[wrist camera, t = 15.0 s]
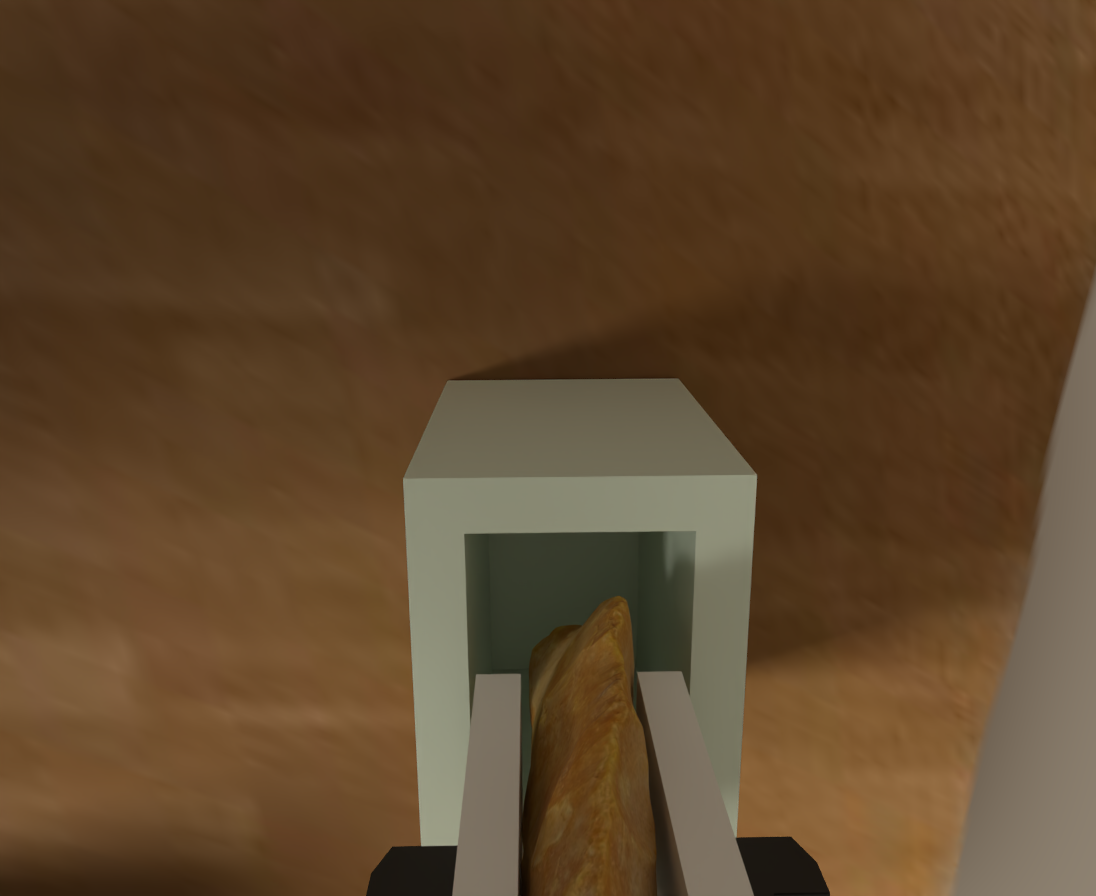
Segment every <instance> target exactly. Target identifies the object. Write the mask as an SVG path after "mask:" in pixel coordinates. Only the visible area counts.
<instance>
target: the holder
mask: <svg viewBox="0 0 1096 896" xmlns="http://www.w3.org/2000/svg"><path fill="white" fill-rule="evenodd" d="M403 487H404V508H405V528H406V548H407V568H408V589H409V609H410V629H411V650H412V670H413V690H414V710H415V731H416V751H417V771H418V792H419V812H420V832H421V846H457V845H458V838H459V828H460V819H461V810H462V801H463V791H464V782H465V773H466V764H467V754H468V745H469V736H470V727H471V717H472V708H473V699H474V690H475V681H476V674H521V718H522V786H523V808H524V800H525V794H526V788H527V782H528V776H529V772H530V767H531V736H532V727H531V720H530V708H529V662H530V658H531V653H532V649H533V648H534V647H535V646H536V645H537V644H538V643H539V642H540V641H541V640H542V639H543V638H545V637H547V636H549V635H550V633H551V632H552V631H553V630H554V629H555V628H556V627H559V626H565V625H583V624H584V623H585V622H586V620H587V619H588V618H589V617H590V615H591V614H592V613H593V611H594V610H595V609H596V608H597V607H598V606H599V604H600V603H602V602H603V601H605V600H607V599H610V598H612V597H616V596H621V597H623V598H625V599H626V601H627V604H628V608H629V613H630V619H631V625H632V638H633V652H634V694H633V707H634V709H635V712H636V698H637V672H664V671H682V674H683V677H684V681H685V684H686V687H687V690H688V693H689V696H690V699H691V702H692V705H693V708H694V712H695V715H696V718H697V721H698V724H699V727H700V730H701V733H702V736H703V739H704V742H705V746H706V749H707V752H708V755H709V758H710V761H711V764H712V767H713V770H714V773H715V777H716V780H717V783H718V786H719V789H720V792H721V795H722V798H723V801H724V804H725V808H726V811H727V814H728V817H729V820H730V823H731V826H732V829H733V832H734V835H735V838H736V836H737V819H738V801H739V784H740V766H741V749H742V731H743V714H744V696H745V679H746V661H747V644H748V627H749V609H750V592H751V574H752V557H753V539H754V522H755V504H756V487H757V474H756V473H755V472H754V470H753V469H752V468H751V467H750V465H749V464H748V463H747V462H746V461H745V459H744V458H743V457H742V456H741V454H740V453H739V452H738V451H737V450H736V448H735V447H734V446H733V445H732V443H731V442H730V441H729V440H728V439H727V437H726V436H725V435H724V434H723V432H722V431H721V430H720V429H719V428H718V426H717V425H716V424H715V423H714V421H713V420H712V419H711V418H710V417H709V415H708V414H707V413H706V412H705V410H704V409H703V408H702V407H701V406H700V404H699V403H698V402H697V401H696V399H695V398H694V397H693V396H692V395H691V393H690V392H689V391H688V390H687V388H686V387H685V386H684V385H683V384H682V382H681V381H680V380H679V379H678V378H669V379H557V380H447V383H446V385H445V387H444V389H443V391H442V394H441V396H440V398H439V400H438V402H437V405H436V407H435V409H434V411H433V414H432V416H431V418H430V420H429V422H428V425H427V427H426V429H425V431H424V433H423V436H422V438H421V440H420V442H419V445H418V447H417V449H416V451H415V453H414V456H413V458H412V460H411V462H410V464H409V467H408V469H407V471H406V473H405V476H404V478H403ZM523 851H524V850H523Z"/></svg>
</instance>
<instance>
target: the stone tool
mask: <svg viewBox="0 0 1096 896" xmlns="http://www.w3.org/2000/svg"><path fill="white" fill-rule="evenodd" d="M633 694H634V652H633V638H632V625H631V619H630V613H629V608H628V604H627V601H626V599H625V598H623V597H621V596H616V597H612V598H610V599H607V600H605V601H603V602H602V603H600V604H599V606H598V607H597V608H596V609H595V610H594V611H593V613H592V614H591V615H590V617H589V618H588V619H587V620H586V622H585V623H584V624H583V625H565V626H559V627H556V628H555V629H554V630H553V631H552V632H551V633H550V635H549V636H547V637H545V638H543V639H542V640H541V641H540V642H539V643H538V644H537V645H536V646H535V647H534V648H533V649H532V653H531V658H530V662H529V708H530V720H531V727H532V736H531V767H530V772H529V776H528V782H527V788H526V794H525V800H524V808H523V818H522V833H521V835H522V843H523V850H524V851H523V858H522V862H521V885H522V896H657V882H656V860H657V852H656V836H655V823H654V818H653V813H652V807H651V801H650V793H649V770H648V757H647V751H646V743H645V736H644V731H643V726H642V724H641V722H640V720H639V718H638V716H637V714H636V712H635V709H634V707H633Z"/></svg>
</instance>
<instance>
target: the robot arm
mask: <svg viewBox="0 0 1096 896" xmlns="http://www.w3.org/2000/svg"><path fill="white" fill-rule="evenodd" d="M636 714H637V716H638V718H639V720H640V722H641V724H642V726H643V731H644V736H645V743H646V751H647V757H648V770H649V793H650V801H651V807H652V813H653V818H654V823H655V836H656V852H657V860H656V882H657V896H830V892H829V889H828V887H827V885H826V882H825V880H824V878H823V876H822V873H821V871H820V869H819V866H818V864H817V862H816V861H815V860H814V859H813V858H812V857H811V856H810V855H809V854H808V853H807V852H806V851H805V850H804V849H803V848H802V847H801V846H800V845H799V844H798V843H797V842H796V841H795V840H794V839H793V838H792V837H746V838H735V835H734V832H733V829H732V826H731V823H730V820H729V817H728V814H727V811H726V808H725V804H724V801H723V798H722V795H721V792H720V789H719V786H718V783H717V780H716V777H715V773H714V770H713V767H712V764H711V761H710V758H709V755H708V752H707V749H706V746H705V742H704V739H703V736H702V733H701V730H700V727H699V724H698V721H697V718H696V715H695V712H694V708H693V705H692V702H691V699H690V696H689V693H688V690H687V687H686V684H685V681H684V677H683V674H682V671H664V672H637V698H636ZM522 818H523V786H522V718H521V674H476V681H475V690H474V699H473V708H472V717H471V727H470V736H469V745H468V754H467V764H466V773H465V782H464V791H463V801H462V810H461V819H460V828H459V838H458V845H457V846H405V847H392V848H391V849H390V850H389V852H388V853H387V854H386V855H385V857H384V858H383V859H382V861H381V862H380V863H379V864H378V866H377V867H376V868H375V869H374V871H373V872H372V873H371V877H370V881H369V885H368V890H367V894H366V896H522V885H521V862H522V858H523V843H522V835H521V833H522Z"/></svg>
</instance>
